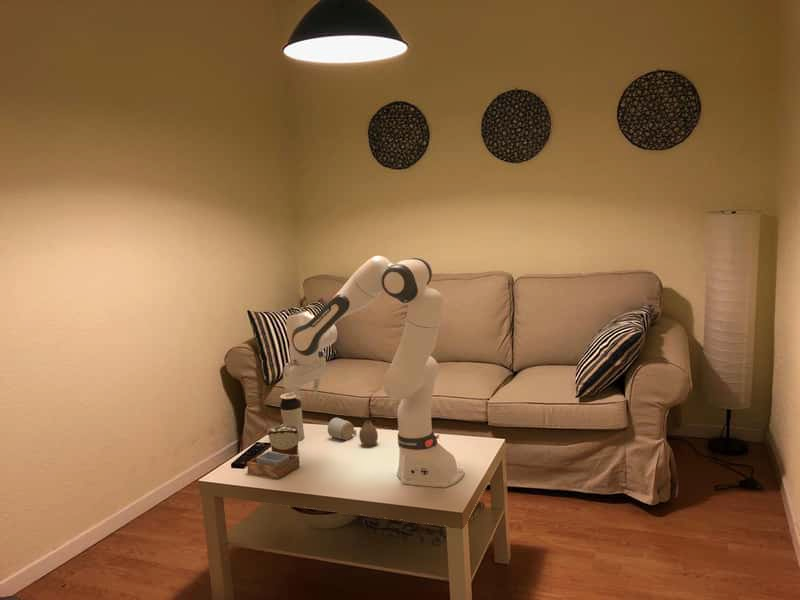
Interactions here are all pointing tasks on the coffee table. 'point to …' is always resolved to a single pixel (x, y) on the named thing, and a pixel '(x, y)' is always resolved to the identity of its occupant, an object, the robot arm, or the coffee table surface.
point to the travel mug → (292, 412)
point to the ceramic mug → (340, 429)
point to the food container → (284, 439)
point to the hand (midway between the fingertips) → (308, 394)
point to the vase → (368, 434)
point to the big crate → (271, 470)
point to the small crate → (272, 459)
